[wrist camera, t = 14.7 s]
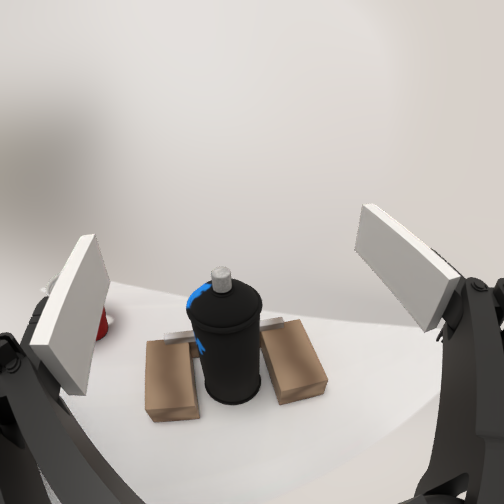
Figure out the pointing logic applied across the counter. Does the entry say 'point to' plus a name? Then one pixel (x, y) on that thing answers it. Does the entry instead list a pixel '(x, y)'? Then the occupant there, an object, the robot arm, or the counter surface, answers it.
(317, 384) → the cutout stand
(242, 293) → the aerosol can
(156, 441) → the counter surface
